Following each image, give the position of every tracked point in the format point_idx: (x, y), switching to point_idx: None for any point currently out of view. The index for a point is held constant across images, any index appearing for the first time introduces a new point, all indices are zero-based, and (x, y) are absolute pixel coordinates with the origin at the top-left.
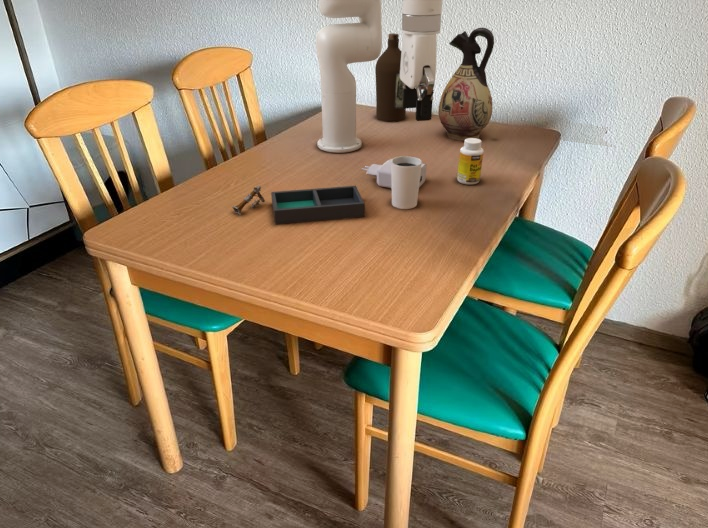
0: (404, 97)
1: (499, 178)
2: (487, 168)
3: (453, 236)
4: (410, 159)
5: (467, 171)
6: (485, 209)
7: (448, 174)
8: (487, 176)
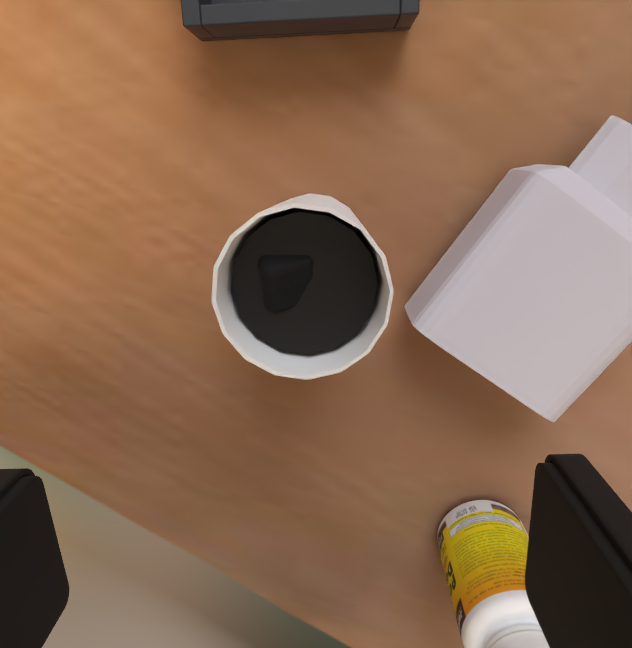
0: (603, 549)
1: None
2: None
3: (27, 352)
4: (372, 331)
5: (454, 552)
6: (228, 507)
7: None
8: None
